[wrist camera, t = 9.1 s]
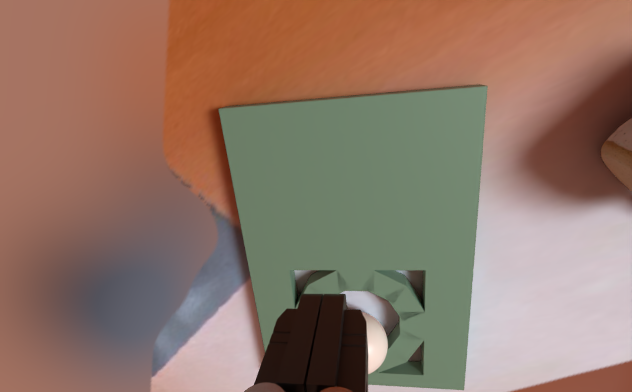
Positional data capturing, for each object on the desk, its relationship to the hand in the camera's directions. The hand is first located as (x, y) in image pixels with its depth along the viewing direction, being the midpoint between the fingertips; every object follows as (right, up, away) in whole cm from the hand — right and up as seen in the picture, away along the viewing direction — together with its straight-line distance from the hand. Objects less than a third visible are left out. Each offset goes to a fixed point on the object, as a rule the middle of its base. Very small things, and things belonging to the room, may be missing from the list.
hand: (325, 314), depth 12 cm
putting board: (+3, -1, +17) cm, 17 cm away
